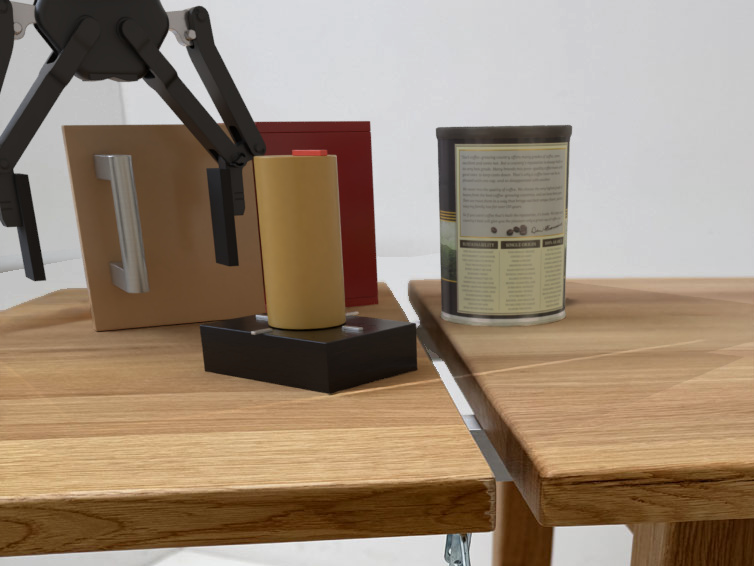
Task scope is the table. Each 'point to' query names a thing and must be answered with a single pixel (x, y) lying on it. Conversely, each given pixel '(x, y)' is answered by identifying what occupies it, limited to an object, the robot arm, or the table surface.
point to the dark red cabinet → (354, 193)
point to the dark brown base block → (310, 352)
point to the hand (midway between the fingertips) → (136, 271)
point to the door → (156, 228)
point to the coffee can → (503, 223)
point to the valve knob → (301, 239)
